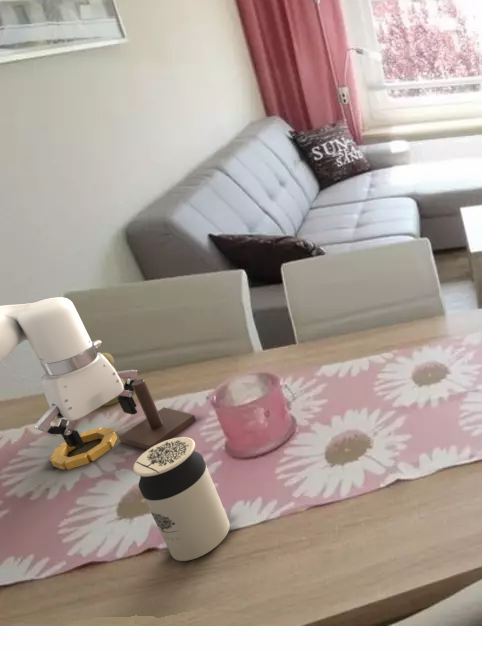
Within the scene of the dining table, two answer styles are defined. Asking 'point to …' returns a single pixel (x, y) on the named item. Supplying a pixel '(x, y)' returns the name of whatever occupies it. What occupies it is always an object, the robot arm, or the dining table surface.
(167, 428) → the peg stand
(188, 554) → the travel mug
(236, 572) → the dining table surface
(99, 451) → the brass ring
